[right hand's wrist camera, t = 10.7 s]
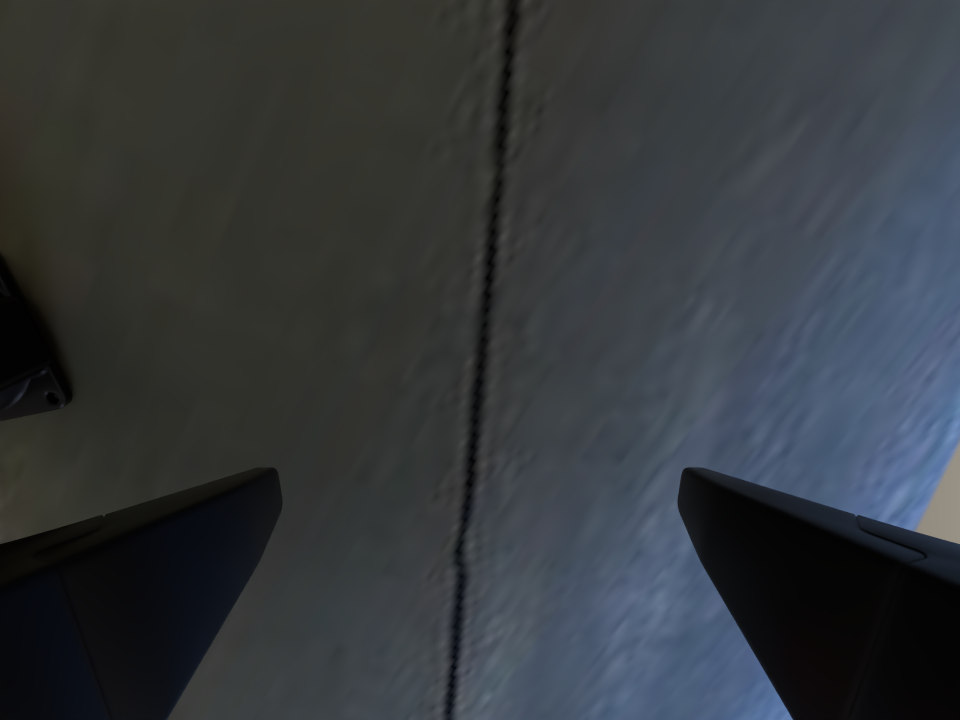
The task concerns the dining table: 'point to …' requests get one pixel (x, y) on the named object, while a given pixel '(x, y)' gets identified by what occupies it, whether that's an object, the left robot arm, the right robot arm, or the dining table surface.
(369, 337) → the dining table surface
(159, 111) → the dining table surface
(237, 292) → the dining table surface
